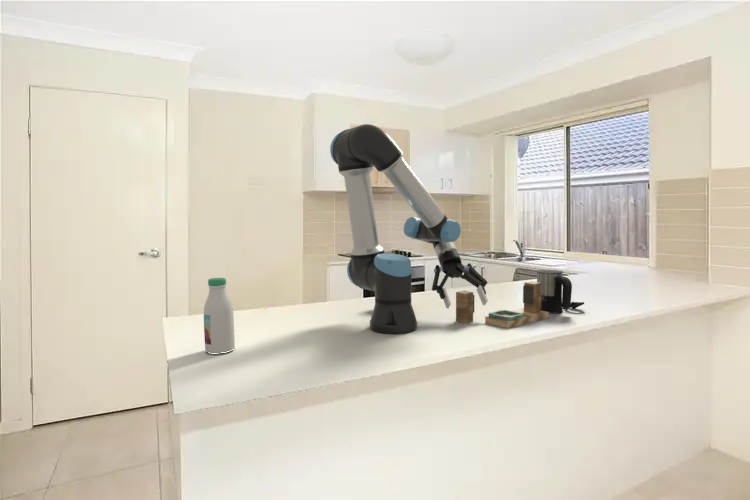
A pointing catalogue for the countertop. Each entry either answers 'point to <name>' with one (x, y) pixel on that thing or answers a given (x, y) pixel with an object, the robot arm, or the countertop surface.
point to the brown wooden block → (464, 306)
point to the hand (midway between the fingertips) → (467, 304)
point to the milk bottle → (218, 318)
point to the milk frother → (555, 291)
